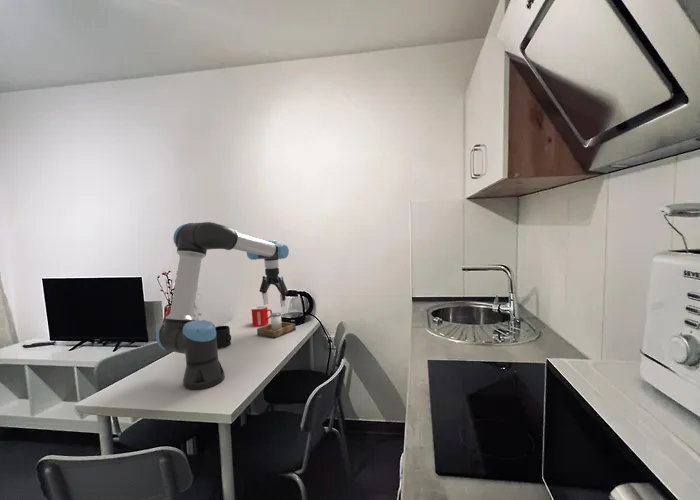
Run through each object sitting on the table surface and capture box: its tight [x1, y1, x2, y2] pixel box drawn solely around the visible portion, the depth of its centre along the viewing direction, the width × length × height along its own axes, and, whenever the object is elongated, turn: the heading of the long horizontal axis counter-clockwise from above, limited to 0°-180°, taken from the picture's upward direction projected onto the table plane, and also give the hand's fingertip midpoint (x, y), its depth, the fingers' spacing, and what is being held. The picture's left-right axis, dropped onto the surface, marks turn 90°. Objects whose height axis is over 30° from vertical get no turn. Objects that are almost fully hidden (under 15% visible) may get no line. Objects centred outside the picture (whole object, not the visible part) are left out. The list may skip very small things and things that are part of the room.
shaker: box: [269, 312, 282, 331], centre depth 197 cm, size 6×6×10 cm
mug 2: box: [250, 305, 273, 327], centre depth 215 cm, size 12×8×11 cm
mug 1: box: [215, 325, 232, 349], centre depth 180 cm, size 9×12×9 cm
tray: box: [256, 321, 297, 339], centre depth 198 cm, size 16×14×4 cm
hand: (274, 305), depth 196 cm, fingers open, 13 cm apart
